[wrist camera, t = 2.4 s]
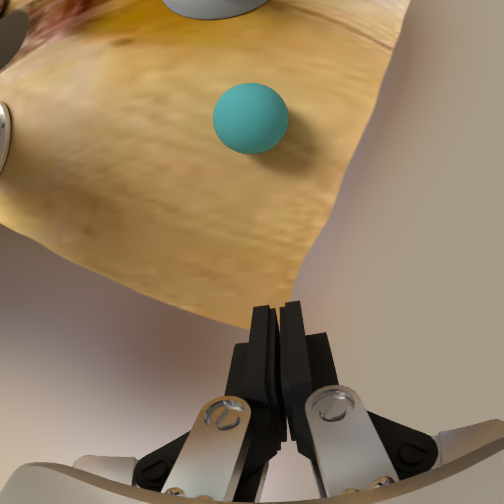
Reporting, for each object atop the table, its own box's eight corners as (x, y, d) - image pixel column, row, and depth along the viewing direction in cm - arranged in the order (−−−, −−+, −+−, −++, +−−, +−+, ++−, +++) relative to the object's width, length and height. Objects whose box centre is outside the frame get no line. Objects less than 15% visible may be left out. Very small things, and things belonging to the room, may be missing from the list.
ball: (226, 160, 24) (214, 161, 19) (214, 99, 22) (198, 84, 17) (291, 148, 24) (298, 146, 18) (279, 87, 22) (282, 67, 16)
